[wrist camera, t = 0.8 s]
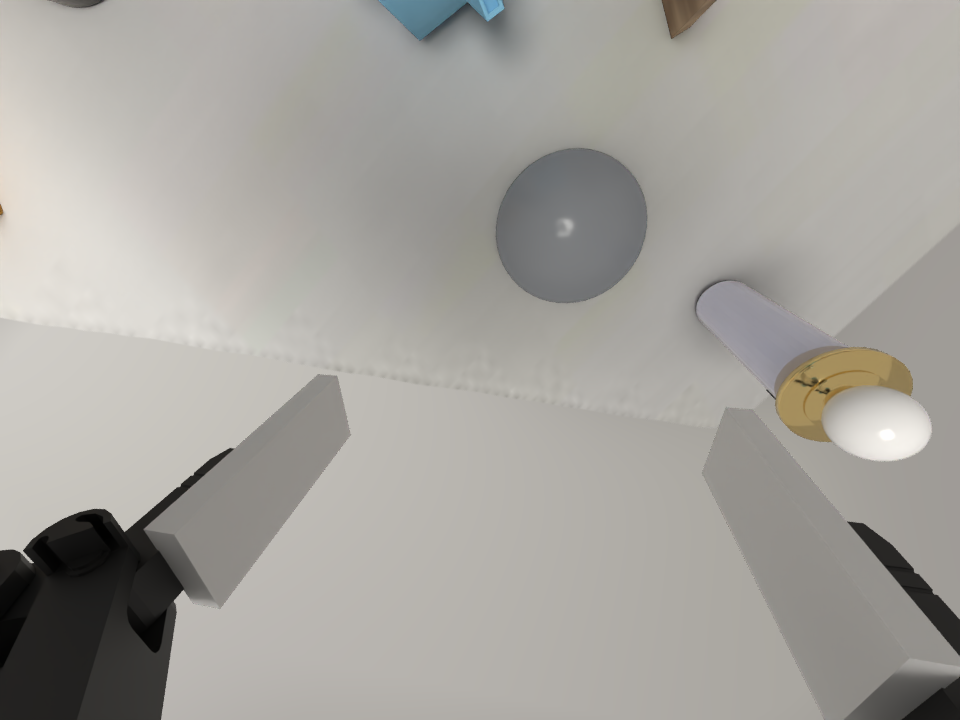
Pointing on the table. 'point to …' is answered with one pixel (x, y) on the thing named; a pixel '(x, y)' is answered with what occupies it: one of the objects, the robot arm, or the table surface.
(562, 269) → the grey saucer
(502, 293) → the table surface
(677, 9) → the three-sided wooden frame
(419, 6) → the teapot
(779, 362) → the perfume bottle
